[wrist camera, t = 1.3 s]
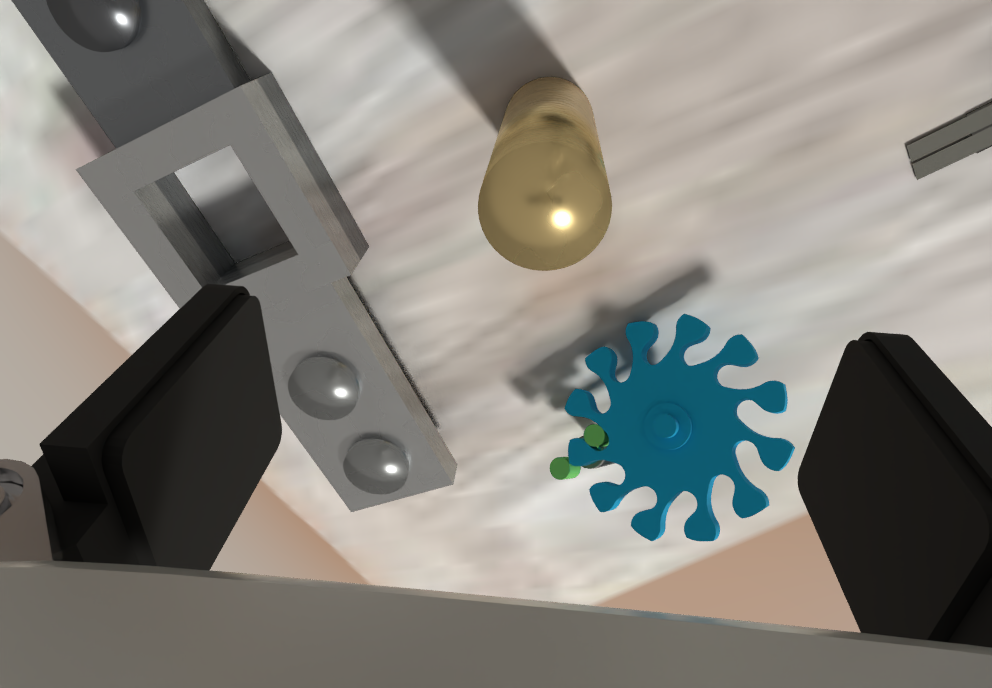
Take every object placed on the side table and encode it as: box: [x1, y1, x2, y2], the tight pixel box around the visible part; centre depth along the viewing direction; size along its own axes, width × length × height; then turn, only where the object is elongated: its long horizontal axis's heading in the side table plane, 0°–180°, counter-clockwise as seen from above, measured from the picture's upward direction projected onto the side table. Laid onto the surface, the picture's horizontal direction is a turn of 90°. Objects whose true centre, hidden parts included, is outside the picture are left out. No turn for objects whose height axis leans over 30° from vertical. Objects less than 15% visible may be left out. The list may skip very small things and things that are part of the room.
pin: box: [478, 77, 612, 271], centre depth 22 cm, size 4×4×10 cm
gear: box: [550, 314, 795, 541], centre depth 31 cm, size 11×6×10 cm
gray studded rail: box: [12, 0, 457, 512], centre depth 27 cm, size 32×8×4 cm, turn 24°
